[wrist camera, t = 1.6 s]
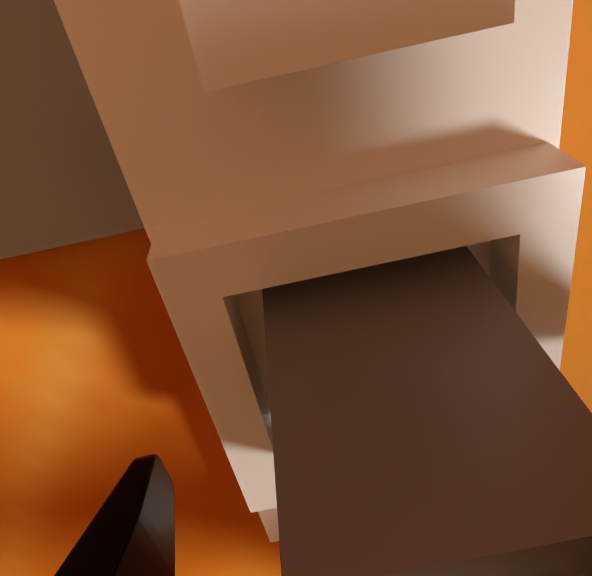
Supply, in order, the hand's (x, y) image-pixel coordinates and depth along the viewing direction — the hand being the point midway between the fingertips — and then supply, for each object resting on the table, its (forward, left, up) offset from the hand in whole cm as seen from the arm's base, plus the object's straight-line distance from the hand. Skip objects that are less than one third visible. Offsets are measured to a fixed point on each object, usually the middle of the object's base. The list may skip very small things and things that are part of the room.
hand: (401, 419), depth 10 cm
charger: (0, 0, -2) cm, 2 cm away
